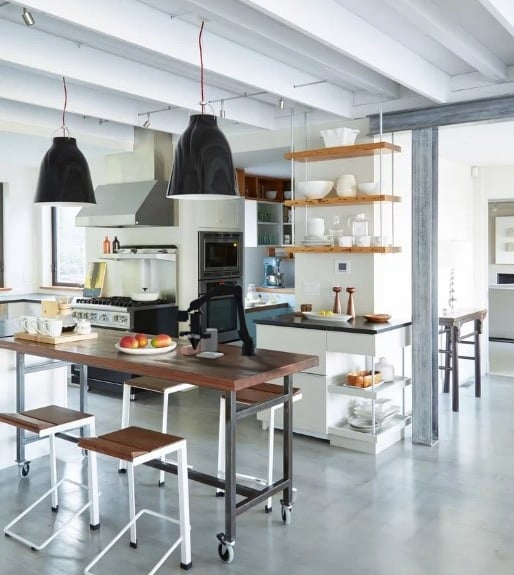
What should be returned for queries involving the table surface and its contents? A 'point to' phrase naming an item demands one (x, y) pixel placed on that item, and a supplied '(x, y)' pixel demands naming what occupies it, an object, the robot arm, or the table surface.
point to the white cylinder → (209, 341)
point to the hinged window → (209, 354)
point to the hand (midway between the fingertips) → (194, 350)
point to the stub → (189, 350)
